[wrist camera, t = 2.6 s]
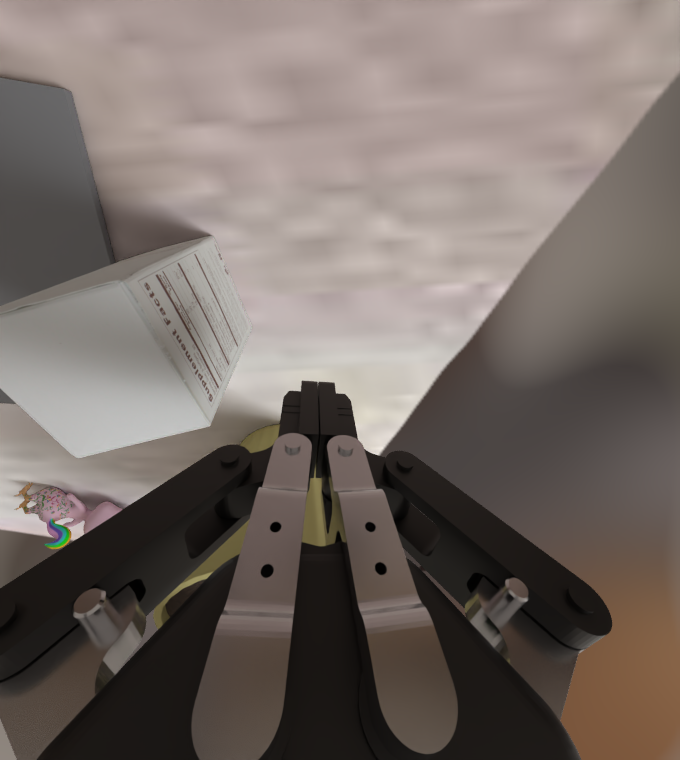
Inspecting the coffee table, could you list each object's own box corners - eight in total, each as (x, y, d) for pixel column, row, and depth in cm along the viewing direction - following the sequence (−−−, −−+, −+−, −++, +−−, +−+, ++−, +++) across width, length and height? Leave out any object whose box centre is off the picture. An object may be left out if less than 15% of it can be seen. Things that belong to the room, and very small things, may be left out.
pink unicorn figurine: (42, 495, 35) (165, 540, 38) (-14, 543, 30) (133, 591, 33) (43, 461, 33) (176, 512, 35) (-18, 508, 27) (143, 563, 30)
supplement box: (172, 348, 25) (70, 464, 15) (118, 258, 21) (-77, 326, 11) (255, 328, 25) (213, 431, 14) (216, 232, 21) (116, 275, 10)
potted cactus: (310, 382, 28) (292, 2098, 3) (376, 474, 36) (529, 1150, 11) (183, 445, 31) (-380, 1556, 6) (269, 518, 39) (190, 1127, 14)
